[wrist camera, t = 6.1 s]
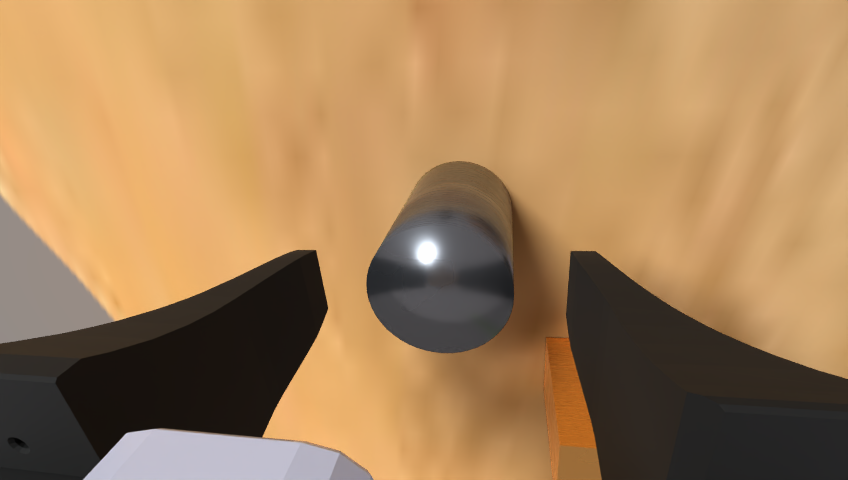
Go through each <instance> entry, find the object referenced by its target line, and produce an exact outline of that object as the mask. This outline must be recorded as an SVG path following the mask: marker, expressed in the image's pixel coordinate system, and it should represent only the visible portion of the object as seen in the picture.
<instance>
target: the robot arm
mask: <svg viewBox="0 0 848 480" xmlns="http://www.w3.org/2000/svg"><path fill="white" fill-rule="evenodd" d="M327 310H328V305H327V300H326V296H325V291H324V286H323V281H322V277H321V272H320V267H319V262H318V258H317V253H316V250H296V251H293V252H290V253H287V254H284V255H282V256H280V257H278V258H275V259H273V260H271V261H269V262H267V263H265V264H263V265H261V266H259V267H257V268H254V269H252V270H250V271H248V272H246V273H244V274H242V275H240V276H238V277H236V278H234V279H231V280H229V281H227V282H225V283H223V284H220V285H218V286H216V287H214V288H211V289H209V290H207V291H205V292H202V293H200V294H197V295H195V296H192V297H190V298H187V299H185V300H182V301H179V302H176V303H174V304H171V305H168V306H165V307H162V308H159V309H156V310H153V311H149V312H146V313H143V314H139V315H136V316H132V317H129V318H126V319H122V320H119V321H115V322H111V323H107V324H103V325H99V326H95V327H90V328H86V329H81V330H77V331H72V332H67V333H62V334H57V335H51V336H45V337H39V338H33V339H27V340H22V341H16V342H9V343H2V344H0V480H373V478H372V476H371V475H370V473H369V472H368V471H367V470H366V469H365V468H363V467H362V466H360V465H359V464H358V463H356V462H355V461H353V460H352V459H351V458H349V457H348V456H346V455H345V454H343V453H342V452H341V451H338V450H335V449H331V448H328V447H324V446H320V445H317V444H313V443H310V442H306V441H295V440H284V439H273V438H262V436H263V434H264V432H265V430H266V428H267V425H268V423H269V421H270V419H271V417H272V414H273V412H274V410H275V408H276V406H277V404H278V403H279V401H280V399H281V397H282V395H283V394H284V392H285V390H286V389H287V387H288V385H289V383H290V382H291V380H292V378H293V377H294V375H295V373H296V372H297V370H298V368H299V367H300V365H301V363H302V362H303V360H304V358H305V357H306V355H307V353H308V351H309V350H310V348H311V346H312V344H313V343H314V341H315V339H316V337H317V335H318V333H319V331H320V328H321V326H322V323H323V321H324V318H325V315H326V313H327ZM566 318H567V326H568V334H569V341H570V347H571V351H572V355H573V358H574V362H575V366H576V369H577V373H578V376H579V380H580V383H581V387H582V391H583V394H584V398H585V401H586V405H587V408H588V412H589V415H590V419H591V423H592V428H593V432H594V436H595V442H596V448H597V454H598V460H599V466H600V472H601V478H602V480H848V379H845V378H842V377H839V376H835V375H832V374H828V373H825V372H821V371H818V370H815V369H812V368H809V367H806V366H803V365H800V364H798V363H795V362H792V361H789V360H786V359H783V358H781V357H778V356H775V355H772V354H770V353H767V352H765V351H762V350H760V349H757V348H754V347H752V346H750V345H747V344H745V343H743V342H740V341H738V340H736V339H734V338H731V337H729V336H727V335H724V334H722V333H720V332H718V331H716V330H714V329H712V328H710V327H708V326H706V325H704V324H702V323H700V322H698V321H696V320H694V319H693V318H691V317H689V316H687V315H685V314H683V313H681V312H680V311H678V310H676V309H675V308H673V307H671V306H670V305H668V304H667V303H665V302H663V301H662V300H660V299H659V298H657V297H656V296H654V295H653V294H651V293H650V292H648V291H647V290H645V289H644V288H643V287H641V286H640V285H638V284H637V283H636V282H634V281H633V280H632V279H630V278H629V277H628V276H626V275H625V274H624V273H623V272H621V271H620V270H619V269H618V268H616V267H615V266H614V265H612V264H611V263H610V262H609V261H607V260H606V259H605V258H604V257H602V256H601V255H600V254H598V253H597V252H596V251H571V256H570V269H569V283H568V297H567V311H566Z"/></svg>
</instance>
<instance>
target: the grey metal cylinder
mask: <svg viewBox="0 0 848 480" xmlns="http://www.w3.org/2000/svg"><path fill="white" fill-rule="evenodd" d="M367 294H368V298H369V302H370V304H371V307H372V309H373V311H374V313H375V315H376V316H377V318H378V319H379V320H380V322H381V323H382V324H383V325H384V326H385V327H386V329H388V330H389V331H390V332H391V333H392V334H393V335H395V336H396V337H397V338H399V339H400V340H402V341H404V342H406V343H407V344H409V345H412V346H414V347H416V348H420V349H423V350H426V351H431V352H438V353H456V352H463V351H467V350H471V349H474V348H477V347H479V346H481V345H483V344H485V343H486V342H488V341H489V340H491V339H492V338H494V337H495V336H496V335H497V334H498V333H499V332H500V331H501V330H502V328H503V327H504V326H505V324H506V322H507V321H508V319H509V317H510V314H511V311H512V307H513V301H514V279H513V236H512V204H511V200H510V196H509V193H508V191H507V189H506V187H505V186H504V184H503V183H502V181H501V180H500V179H499V178H498V177H497V176H496V175H495V174H494V173H492V172H491V171H490V170H488V169H486V168H485V167H482V166H480V165H478V164H474V163H470V162H462V161H456V162H449V163H444V164H441V165H439V166H436V167H435V168H433V169H431V170H430V171H428V172H427V173H426V174H425V175H424V176H423V177H422V178H421V179H420V180H419V181H418V183H417V184H416V186H415V188H414V190H413V191H412V193H411V195H410V196H409V198H408V200H407V202H406V203H405V205H404V207H403V208H402V210H401V212H400V213H399V215H398V217H397V219H396V220H395V222H394V224H393V225H392V227H391V229H390V231H389V232H388V234H387V236H386V237H385V239H384V241H383V242H382V244H381V246H380V248H379V249H378V251H377V253H376V254H375V256H374V258H373V260H372V261H371V264H370V267H369V270H368V274H367Z"/></svg>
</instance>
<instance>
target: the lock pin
mask: <svg viewBox="0 0 848 480" xmlns="http://www.w3.org/2000/svg"><path fill="white" fill-rule="evenodd" d="M544 397H545V407H546V417H547V427H548V437H549V447H550V457H551V467H552V477H553V480H602V478H601V472H600V466H599V460H598V454H597V448H596V442H595V436H594V432H593V428H592V423H591V419H590V415H589V412H588V408H587V405H586V401H585V398H584V394H583V391H582V387H581V383H580V380H579V376H578V373H577V369H576V366H575V362H574V358H573V355H572V351H571V347H570V341H569V338H549V337H546V354H545V374H544Z"/></svg>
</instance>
